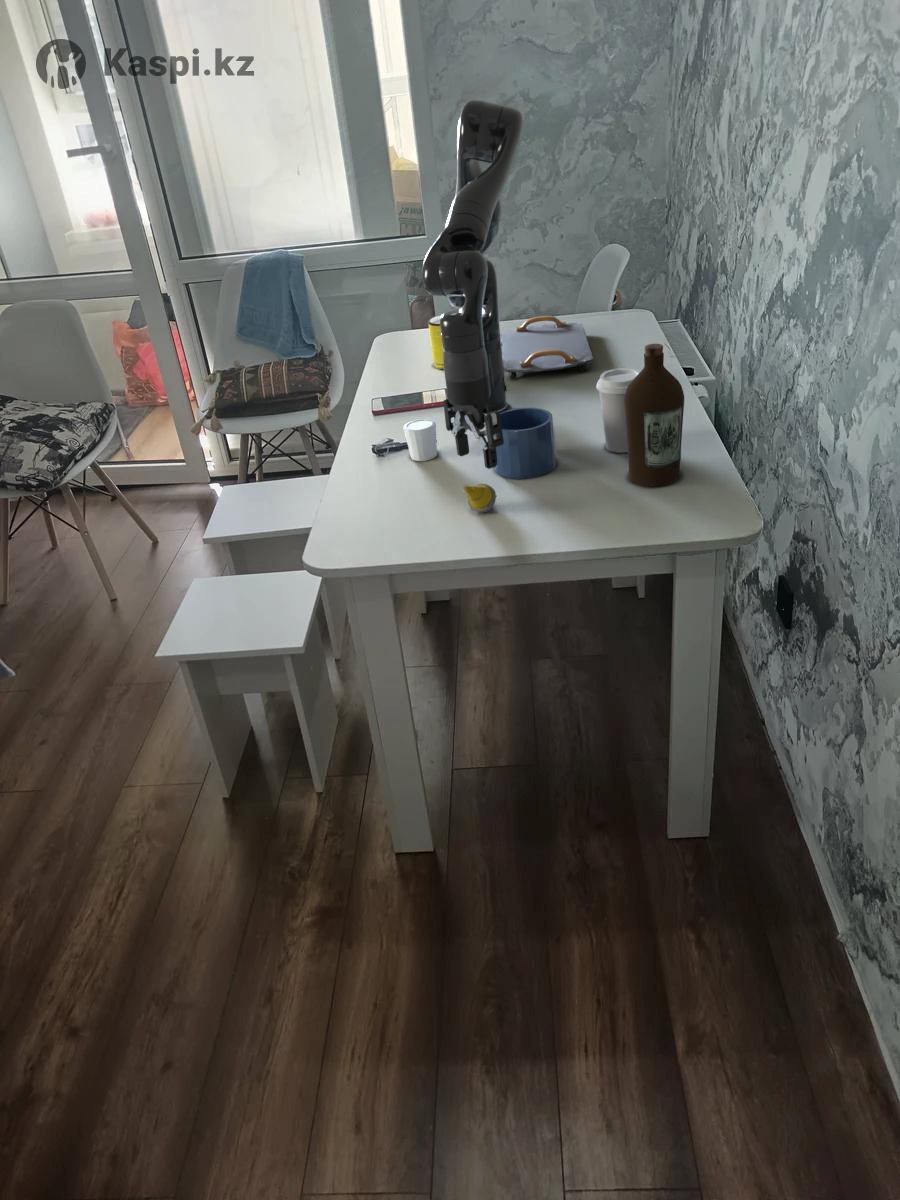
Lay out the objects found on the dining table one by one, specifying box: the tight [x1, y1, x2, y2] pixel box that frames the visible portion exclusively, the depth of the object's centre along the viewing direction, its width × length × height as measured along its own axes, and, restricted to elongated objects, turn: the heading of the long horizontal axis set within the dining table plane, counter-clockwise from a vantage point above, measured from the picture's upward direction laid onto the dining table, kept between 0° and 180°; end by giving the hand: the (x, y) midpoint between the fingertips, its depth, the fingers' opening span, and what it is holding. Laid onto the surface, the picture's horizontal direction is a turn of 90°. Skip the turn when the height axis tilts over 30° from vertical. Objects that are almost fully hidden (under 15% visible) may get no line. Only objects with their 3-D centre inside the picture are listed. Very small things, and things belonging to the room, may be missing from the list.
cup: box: [494, 407, 556, 480], centre depth 181 cm, size 12×12×10 cm
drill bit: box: [463, 483, 497, 514], centre depth 167 cm, size 5×5×10 cm
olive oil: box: [624, 343, 685, 488], centre depth 166 cm, size 11×11×25 cm
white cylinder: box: [403, 418, 438, 462], centre depth 193 cm, size 7×7×7 cm
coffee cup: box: [595, 367, 641, 454], centre depth 182 cm, size 10×10×15 cm
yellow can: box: [427, 314, 444, 370], centre depth 242 cm, size 9×9×12 cm
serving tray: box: [500, 315, 594, 381], centre depth 240 cm, size 39×23×6 cm, turn 178°
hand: (477, 460), depth 163 cm, fingers open, 8 cm apart
